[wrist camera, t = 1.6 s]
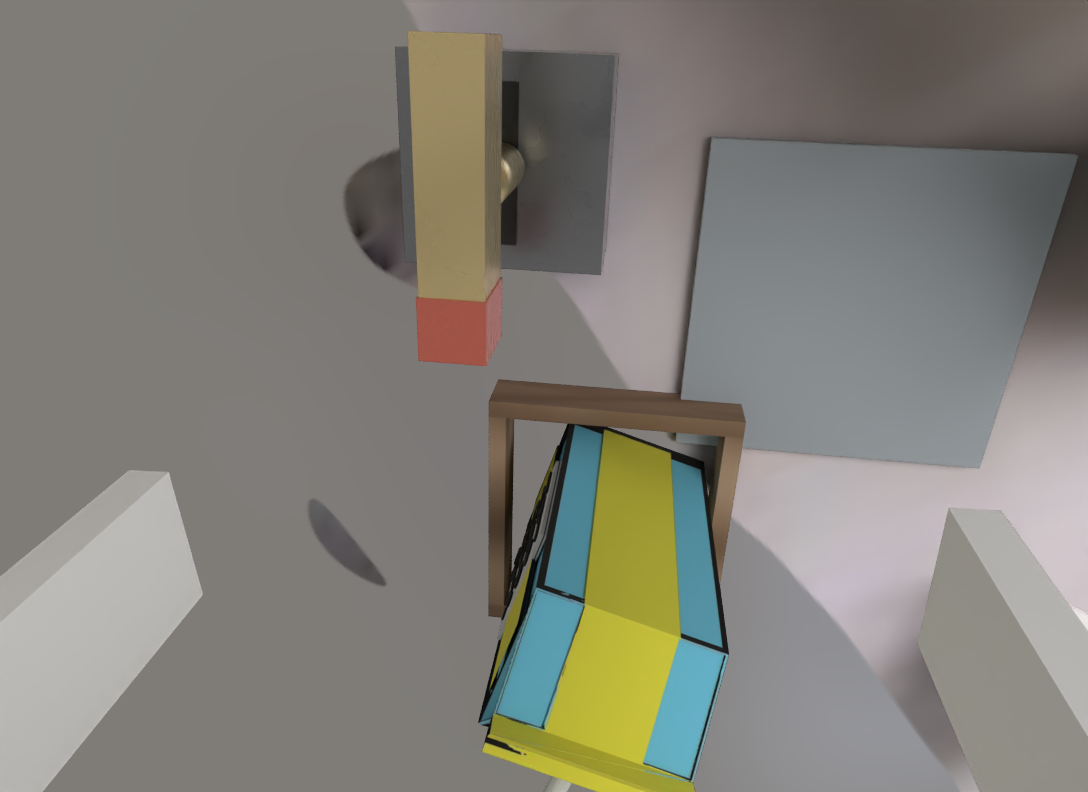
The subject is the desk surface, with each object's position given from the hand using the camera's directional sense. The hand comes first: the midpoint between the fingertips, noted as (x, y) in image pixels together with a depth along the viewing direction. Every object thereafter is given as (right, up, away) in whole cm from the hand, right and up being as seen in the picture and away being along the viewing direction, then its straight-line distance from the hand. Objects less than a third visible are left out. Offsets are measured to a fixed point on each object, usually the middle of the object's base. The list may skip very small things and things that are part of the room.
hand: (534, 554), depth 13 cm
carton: (+4, -3, +26) cm, 27 cm away
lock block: (-1, +13, +20) cm, 24 cm away
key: (-1, +11, +16) cm, 19 cm away
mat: (+14, +6, +21) cm, 26 cm away
